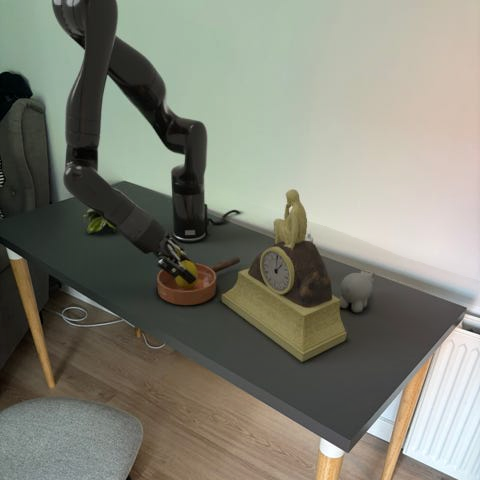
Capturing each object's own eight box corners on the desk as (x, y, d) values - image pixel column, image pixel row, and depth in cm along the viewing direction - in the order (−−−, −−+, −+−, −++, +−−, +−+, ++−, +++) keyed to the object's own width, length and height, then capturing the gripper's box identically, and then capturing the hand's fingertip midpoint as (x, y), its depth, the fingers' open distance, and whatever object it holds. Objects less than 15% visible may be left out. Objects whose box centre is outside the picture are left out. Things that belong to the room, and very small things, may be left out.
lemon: (194, 296, 123) (194, 267, 119) (172, 293, 124) (171, 264, 119) (200, 285, 128) (200, 256, 123) (179, 282, 128) (178, 253, 124)
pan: (191, 270, 134) (191, 257, 132) (227, 292, 126) (228, 278, 124) (146, 288, 126) (145, 274, 124) (182, 313, 118) (181, 298, 115)
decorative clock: (221, 301, 122) (223, 178, 105) (263, 286, 129) (270, 168, 112) (302, 362, 104) (319, 225, 87) (345, 340, 111) (369, 209, 94)
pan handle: (236, 260, 136) (236, 254, 135) (241, 263, 135) (241, 257, 134) (204, 274, 129) (204, 267, 128) (209, 276, 128) (209, 270, 127)
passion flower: (103, 240, 160) (113, 203, 160) (125, 244, 153) (135, 206, 153) (73, 229, 151) (83, 190, 151) (95, 233, 144) (106, 192, 144)
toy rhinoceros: (381, 297, 126) (388, 266, 121) (359, 317, 118) (365, 286, 113) (355, 287, 130) (361, 257, 125) (332, 306, 122) (337, 275, 117)
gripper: (148, 231, 109) (204, 280, 116) (153, 205, 121) (204, 251, 128) (125, 254, 111) (182, 300, 119) (133, 226, 123) (184, 270, 131)
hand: (193, 274), depth 124 cm, fingers closed on lemon, 5 cm apart
